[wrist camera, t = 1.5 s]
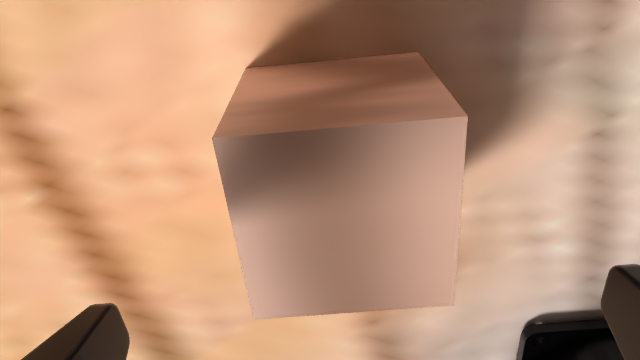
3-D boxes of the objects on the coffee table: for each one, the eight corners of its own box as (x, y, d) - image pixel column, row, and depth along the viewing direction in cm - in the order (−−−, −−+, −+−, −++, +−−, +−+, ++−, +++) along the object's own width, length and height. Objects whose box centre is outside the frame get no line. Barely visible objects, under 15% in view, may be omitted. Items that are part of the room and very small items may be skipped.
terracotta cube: (417, 51, 13) (467, 116, 9) (415, 198, 16) (453, 305, 11) (246, 67, 13) (212, 138, 9) (270, 209, 16) (253, 319, 11)
